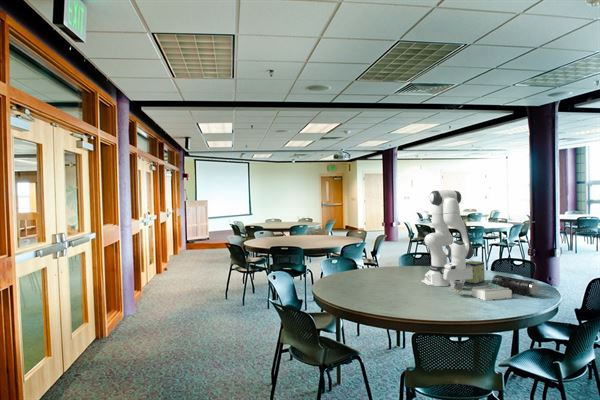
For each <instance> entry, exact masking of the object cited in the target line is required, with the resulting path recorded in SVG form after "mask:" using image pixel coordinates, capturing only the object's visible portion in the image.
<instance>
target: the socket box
mask: <svg viewBox="0 0 600 400" xmlns="http://www.w3.org/2000/svg"><path fill="white" fill-rule="evenodd" d="M497 286H499V285H497ZM512 293H513V292H512V290H509V288H499V289H491V288H488V285H476V286H474V287H472V288H471V296H472V297H474V298H477V299H479V298H480V299H479V300H482V299H483V301H494V300H493V299H495V300H504V299H505V298H506V299H513V297H512V296H513V294H512Z"/></svg>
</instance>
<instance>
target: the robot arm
mask: <svg viewBox="0 0 600 400" xmlns="http://www.w3.org/2000/svg"><path fill="white" fill-rule="evenodd" d="M429 202H430V203H431V204H432V207H431V208H432V209H431V225H432V226H433V227H434V230H435V232H431V233H428V234H426V235H425V237H424V239H423V241H424V244H425V246H427V248H428V250H429V253H430V258H431V259H430V262H431V264H430V265H429V270H428V271H427V272H426V273H425V275H424V279H421V283H424V284H426V285H427V286H435V287H448V286H451V285H450V280H451V282H452V283H453V287H456V284H455V283H454V282H455V280H460V283H463V287H464V285H465V284H466V283H465V280H467V279H473V271H472V270H473V268H472V266H471V265H466V262H467V261H466V260H470V259H471V258H473V256H474V254H475V253H474V252H475V251H474V250H475V249H474V248H473V245H472V242H471V238H470V233H469V230H468V225H467V223H466V221H465V220H463V219H462V216H461V210H460V205H459V204H460V203H461V202H462V194H461V192H459V191H457V190H451V189H450V190H449V189H446V190H444V189H443V190H433V191H431V192H430V194H429ZM449 227H450V228H453V229H456V230H457V231H459V232H460V236H461V240H454V238H453V237H454V236H453V235H452V234H451V232H450V230H449ZM453 240H454V241H453ZM444 247H445V248H444ZM448 259H451V262H449V263H448Z"/></svg>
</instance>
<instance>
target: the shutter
mask: <svg viewBox="0 0 600 400" xmlns="http://www.w3.org/2000/svg"><path fill="white" fill-rule="evenodd" d="M487 286H488V288H491V289H499V288H504V287H501V286H497V285H496V284H492V282H487Z"/></svg>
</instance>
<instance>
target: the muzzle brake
mask: <svg viewBox="0 0 600 400" xmlns="http://www.w3.org/2000/svg"><path fill="white" fill-rule="evenodd" d="M491 281H492V282H491V283H492V284H496V285H499V286H501V287H504V288H509V290H512V293H516V294H520V295H521V294H522V295H521V296H524V295H527V296H529V297H533V296H537V295H538V294H539V292H540V286H539V284H538V283H537V282H535V281H533V280H527V279H526V280H525V279H520V278H515V277H510V276H505V275H501V274H495V275H493V277H492V280H491Z"/></svg>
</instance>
